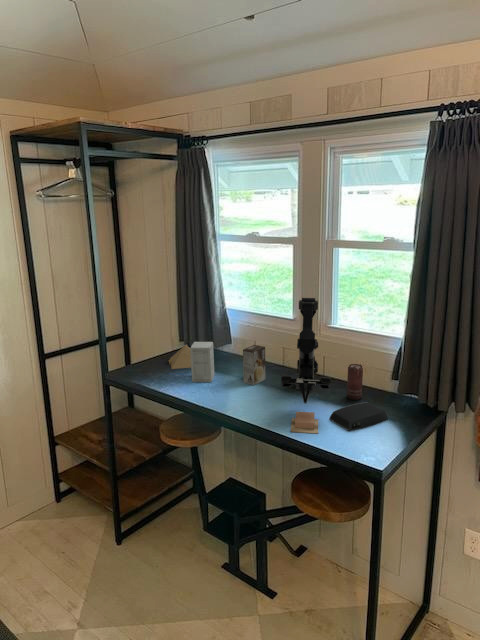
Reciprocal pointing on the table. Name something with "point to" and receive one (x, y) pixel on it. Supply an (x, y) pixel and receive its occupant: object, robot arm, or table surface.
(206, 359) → the supplement box
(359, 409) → the external hard drive
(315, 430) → the brass plate
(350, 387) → the can
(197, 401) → the table surface
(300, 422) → the block
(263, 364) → the coffee box
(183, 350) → the model pyramid
